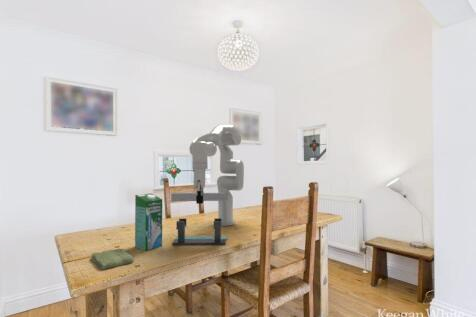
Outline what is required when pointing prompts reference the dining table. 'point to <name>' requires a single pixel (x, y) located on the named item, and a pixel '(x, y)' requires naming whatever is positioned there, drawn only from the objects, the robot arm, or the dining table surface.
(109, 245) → the dining table surface
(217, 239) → the rack
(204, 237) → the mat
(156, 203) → the milk carton
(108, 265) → the washcloth
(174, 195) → the rail
